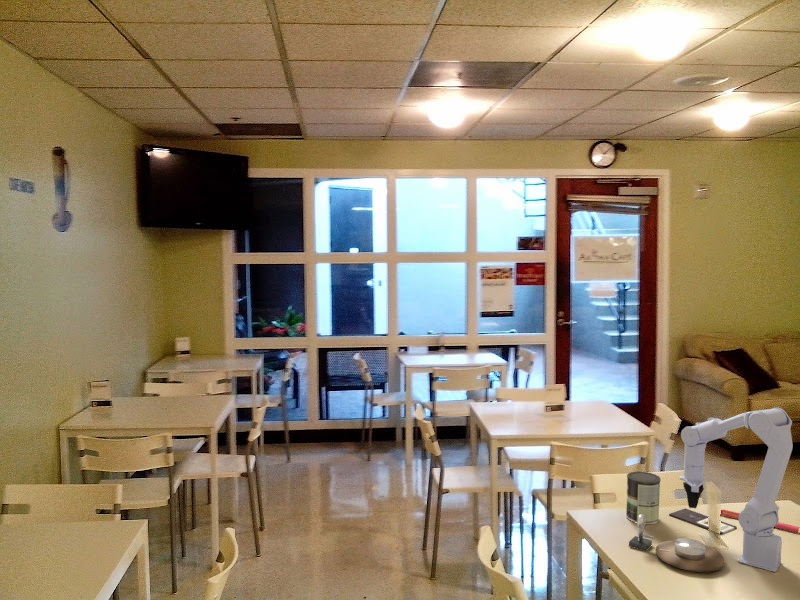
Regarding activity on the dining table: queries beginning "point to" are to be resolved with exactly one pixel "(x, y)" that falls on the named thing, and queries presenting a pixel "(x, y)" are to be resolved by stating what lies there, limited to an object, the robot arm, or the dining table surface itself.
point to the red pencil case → (779, 525)
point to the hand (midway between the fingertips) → (692, 507)
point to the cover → (689, 549)
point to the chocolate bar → (699, 520)
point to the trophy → (641, 536)
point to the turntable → (708, 564)
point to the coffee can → (643, 496)
